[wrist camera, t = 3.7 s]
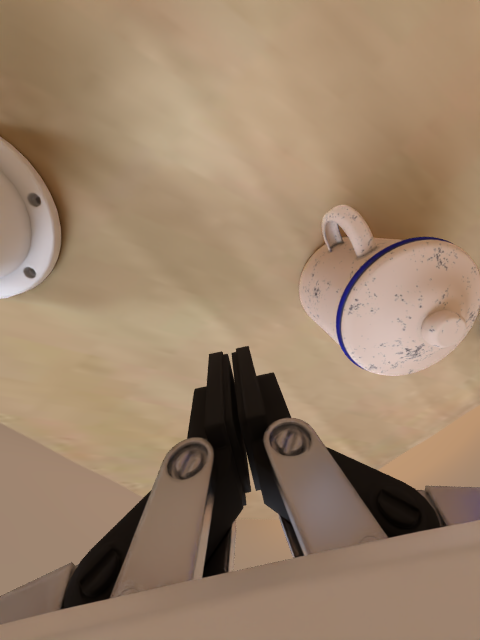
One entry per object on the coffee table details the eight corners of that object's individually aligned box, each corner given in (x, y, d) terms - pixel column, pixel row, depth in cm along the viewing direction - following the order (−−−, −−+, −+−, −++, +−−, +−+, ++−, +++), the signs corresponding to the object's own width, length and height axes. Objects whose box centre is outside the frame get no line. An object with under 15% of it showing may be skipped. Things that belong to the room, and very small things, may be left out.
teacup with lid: (399, 295, 24) (548, 350, 13) (320, 343, 25) (398, 429, 15) (353, 179, 20) (516, 124, 9) (261, 243, 21) (310, 260, 10)
